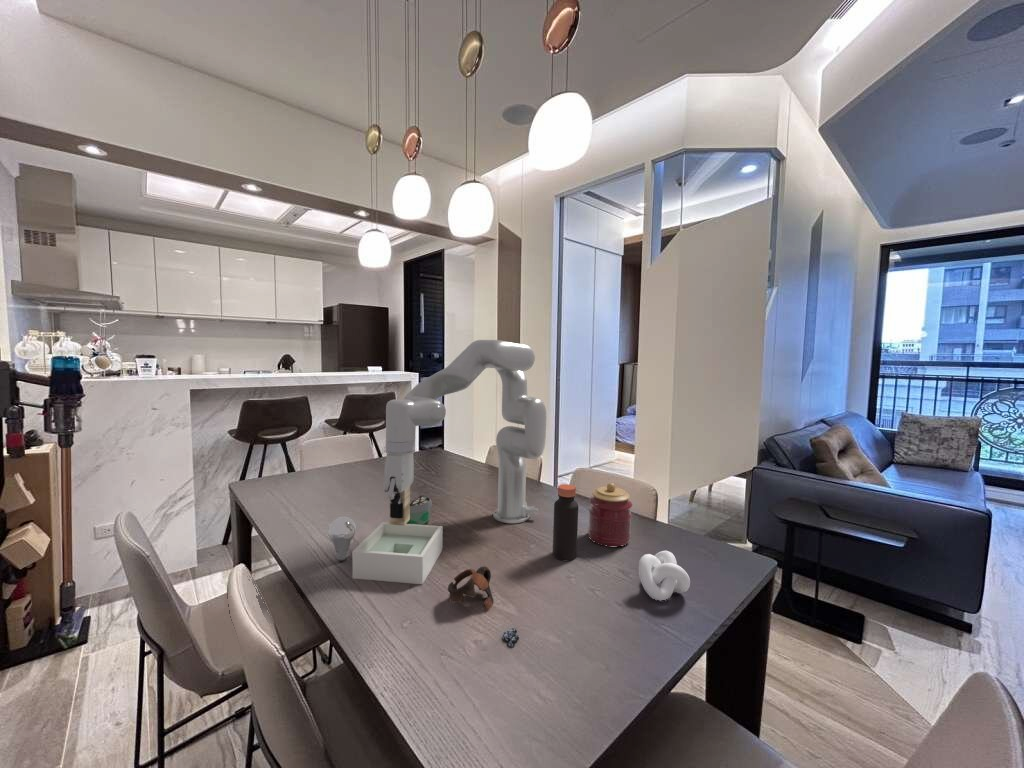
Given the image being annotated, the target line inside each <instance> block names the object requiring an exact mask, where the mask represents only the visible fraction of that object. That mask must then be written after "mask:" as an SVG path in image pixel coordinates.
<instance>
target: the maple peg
mask: <svg viewBox="0 0 1024 768" xmlns="http://www.w3.org/2000/svg"><path fill="white" fill-rule="evenodd" d="M395 491H398V489H395ZM395 495H396V496H399V494H395ZM401 503H403V517H402V518H391V517H390V516H389V522H390V525H403V526H404V525H405V524H406V523H407V522H408V521H409V520H410V504H411V485H410V486H409V487H408V488H406V489H405V490H404V491H403V492H402V502H401Z"/></svg>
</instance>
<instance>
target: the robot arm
mask: <svg viewBox="0 0 1024 768" xmlns="http://www.w3.org/2000/svg"><path fill="white" fill-rule="evenodd" d="M535 358H536V356H535V352H534V350H533V348H532V347H531V346H529V345H527V344H525V343H519V342H517V343H516V342H511V341H507V340H506V341H505V340H501V339H478V340H474V341H471V343H470V344H468V345H467V346H466V348H465V349H464V350H463V351H461V352H460V353H459V354H458V355H457V356H456V358H455V359H454V360H453V361H452V362H451V363H449V365H448V366H446V367H445V368H443V369H441V370H439V371H438V372H435V373H434V374H432V375H430V376H428V377H426V378H424V379H423V380H421V381H420V382H419V383H417V384H416V385H415V386H414V387H413V388H412V389H411V390H410V391H408V393H407V394H406V395H405V396H404V397H403V398H400V399H399V398H398V399H395V398H394V399H391V400H389V401H387V403H386V406H385V454H386V456H385V462H384V471H383V472H384V473H383V492H384V493H387V492H388V493H387V498H388V500H389V518H390V517H391V518H402V517H403V503H401V502H402V492H403V491H404V490H405V489H406V488H408V487H409V486H410V487H411V485H412V484H413V482H414V477H415V476H414V474H415V473H414V472H415V469H414V468H415V467H414V466H415V465H414V460H415V459H414V454H415V452H416V430H417V429H416V427H419V426H420V427H421V426H422V427H434V426H437V425H438V424H440V423H441V422H443V420H444V419H445V418H446V415H447V414H446V413H447V411H446V406H445V405H444V403H443V402H441V400H438V399H439V398H441V397H444V396H447V395H450V394H454V393H458V392H460V391H463V390H466V389H467V388H469V387H470V386H471V385H472V383H473V382H474V381H475V380H476V379H477V378H478V377H479V376H480V375H481V374H482V372H484V371H485V369H490V368H491V369H495V371H496V372H497V373H498V375H499V376H500V379H501V385H502V387H501V388H502V389H501V390H502V391H501V395H502V396H501V416H502V418H503V420H504V421H507V422H509V423H512V424H516V425H517V424H518V425H521V426H524V428H523V427H518V426H512V425H508V426H505V427H502V428H501V429H500V430H499V431H497V434H496V436H495V437H496V439H495V443H496V451H497V456H498V457H497V458H498V482H497V483H498V484H497V508H496V509H495V510H494V511H493V513H492V515H493V516H492V517H493V519H494V520H496V521H498V522H500V523H505V524H519V523H524V522H526V521H528V520H529V518H530V515H531V514H532V515H539V509H538V508H536V506H529V505H527V501H526V491H527V490H526V488H527V487H526V485H527V481H526V480H527V464H526V460H525V459H528V460H537V459H539V458H541V456H542V455H543V453H544V451H545V447H546V435H547V434H546V433H547V408H546V406H545V404H544V401H542V400H541V399H540V398H537V397H535V396H534V397H532V396H529V395H528V381H527V380H528V379H527V376H526V373H525V372H526V371H529V370H530V369H531V368H532V367H533V366H534V363H535V361H536V359H535ZM395 489H398V491H395ZM395 494H399V496H396V495H395Z"/></svg>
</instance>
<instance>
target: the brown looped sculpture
mask: <svg viewBox="0 0 1024 768" xmlns="http://www.w3.org/2000/svg"><path fill="white" fill-rule="evenodd" d="M491 574H492V573H491V570H490V568H489V567H487V566H480V567H479V568H478V569H477V570H475V569H474V568H469V569H468V568H467V569H465V570H464V571H463V570H462V571H461V572H460V573H459V574H457V575H456V576H455V577H454V578H453V579H454V581H455V582H454V581H451V582H450V583H449V584H448V587H447V591H448V593H449V596H448V597H449V600H450V601H451V602H453V603H457V602H458V603H459V604H461V605H463V599H464V595H465V596H467V597H471V598H474V597H476V596H477V593H476V592H475V591H476V590H475V586H476V587H477V588H478V590H479V591H482V592H485V593H486V595H487V597H486V599H485V601H484V602H483V606H484V607H485V609H486V611H487V612H489V611H490V610H491V609H492V607H493V604H494V601H495V600H494V597H493V595H492V594H493V593H492V590H491V588H490V587H491V586H490V582H491V577H492V575H491ZM467 577H470V578H469V580H468V581H467V582H466V583H465V584H464V585H462V586H460V587H457V586H458V585H459V584H460V583H461V582H462V581H463V580H465V579H466V578H467Z"/></svg>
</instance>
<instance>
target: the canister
mask: <svg viewBox="0 0 1024 768" xmlns="http://www.w3.org/2000/svg"><path fill="white" fill-rule="evenodd" d="M630 498H631V496H630V494H629V493H628V492H626V491H625V490H624V489H622V488H620V487H616V485H615V484H614V483H613V482H609V483H608V484H607V485H605V486H600V487H598V488H596V489H594V490H593V491H592V496H590V498H589V500H588V501H589V503H590V507H589V509H588V512H589V516H588V528H587V533H588V538H589V537H590V538H591V539H592V540H593V541H595V542H597V543H599V544H602V545H607V546H621V545H625V544H627V543H628V542H629V541H630V540H631V538H632V537H631V534H632V533H631V530H632V529H631V528H632V527H631V524H632V522H631V521H632V517H633V515H632V512H631V508H632V507H633V503H632V501H631V500H630ZM590 538H589V539H590ZM591 539H590V540H591ZM592 540H591V541H592ZM593 541H592V542H593ZM595 542H594V543H595ZM630 542H631V541H630ZM630 542H629V543H630ZM597 543H596V544H597ZM629 543H628V544H629ZM599 544H598V545H599ZM628 544H627V545H628ZM602 545H601V546H602ZM625 546H626V545H625Z"/></svg>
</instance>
